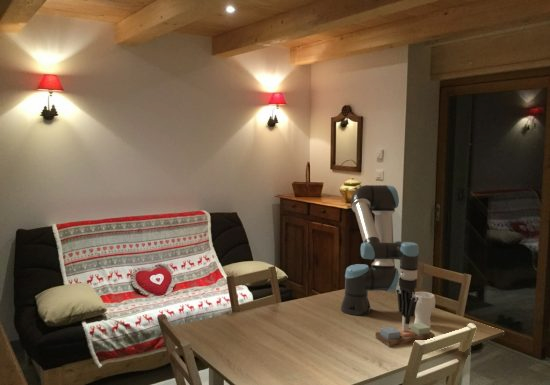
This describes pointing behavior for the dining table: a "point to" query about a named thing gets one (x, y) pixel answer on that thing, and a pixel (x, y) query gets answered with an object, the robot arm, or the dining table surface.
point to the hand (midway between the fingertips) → (405, 329)
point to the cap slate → (389, 333)
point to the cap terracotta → (406, 333)
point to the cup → (424, 307)
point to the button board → (403, 339)
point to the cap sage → (420, 328)
